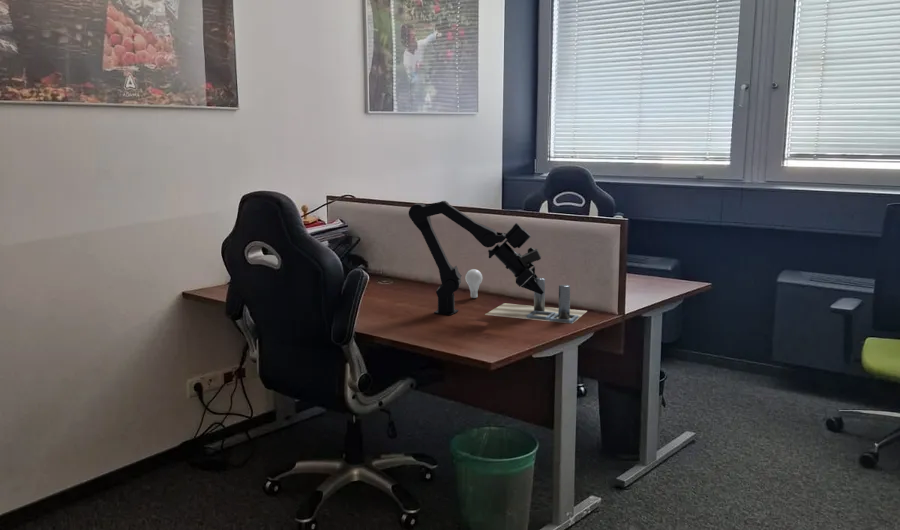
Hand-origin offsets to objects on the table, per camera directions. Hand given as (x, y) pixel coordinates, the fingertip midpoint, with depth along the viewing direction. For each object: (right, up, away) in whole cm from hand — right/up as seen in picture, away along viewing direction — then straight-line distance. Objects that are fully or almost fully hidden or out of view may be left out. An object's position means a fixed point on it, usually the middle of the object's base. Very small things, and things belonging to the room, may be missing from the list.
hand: (542, 290), depth 252 cm
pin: (-1, -7, +1) cm, 7 cm away
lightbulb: (-22, -4, +27) cm, 35 cm away
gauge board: (-2, -9, -1) cm, 9 cm away
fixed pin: (+6, -9, -10) cm, 15 cm away
